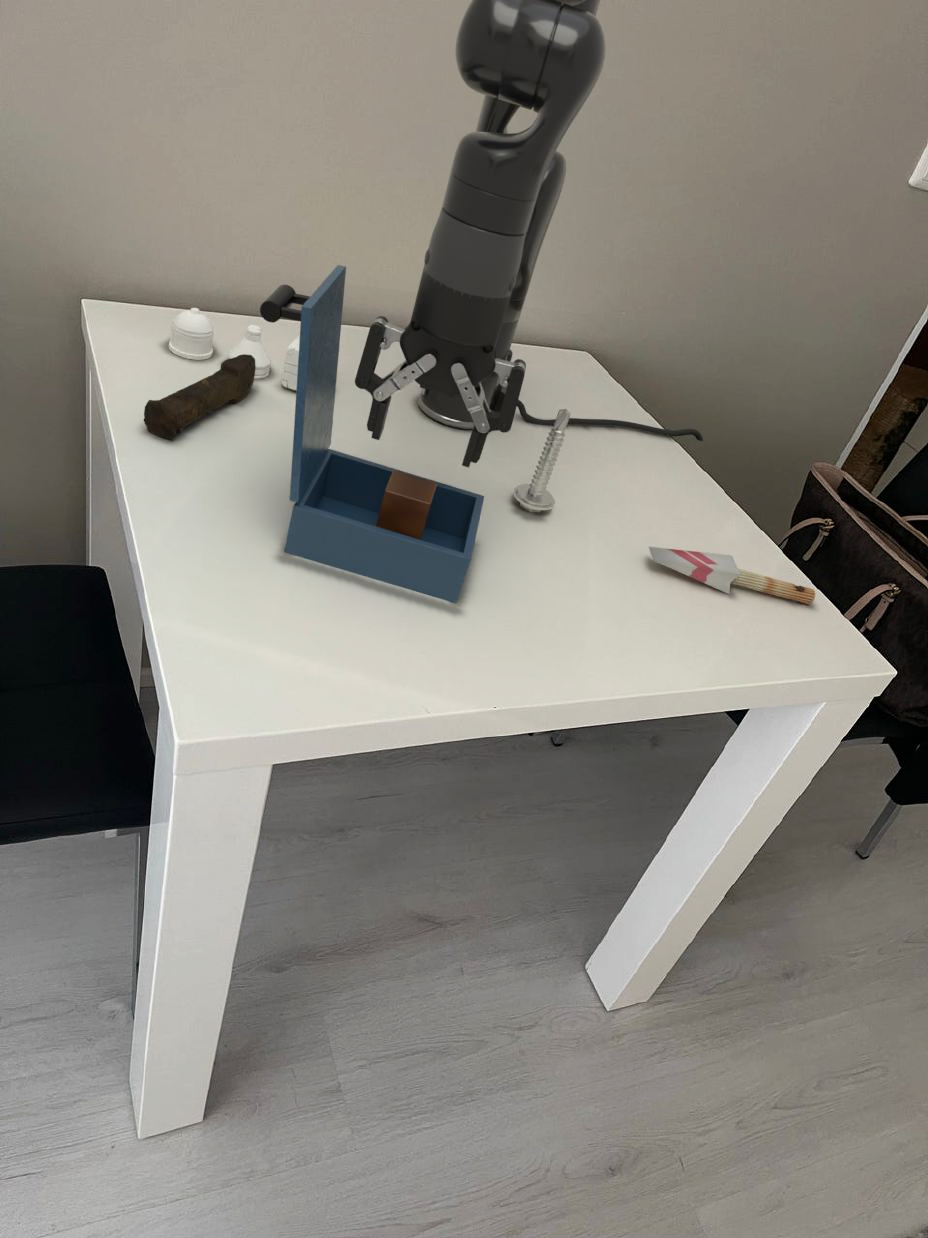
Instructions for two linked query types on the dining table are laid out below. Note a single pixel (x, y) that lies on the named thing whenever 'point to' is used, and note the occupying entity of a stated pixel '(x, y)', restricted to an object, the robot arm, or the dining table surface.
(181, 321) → the container set
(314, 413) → the toolbox lid
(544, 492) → the screw
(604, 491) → the dining table surface
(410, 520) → the brown block
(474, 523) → the toolbox
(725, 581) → the knife with wooden handle
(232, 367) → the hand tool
